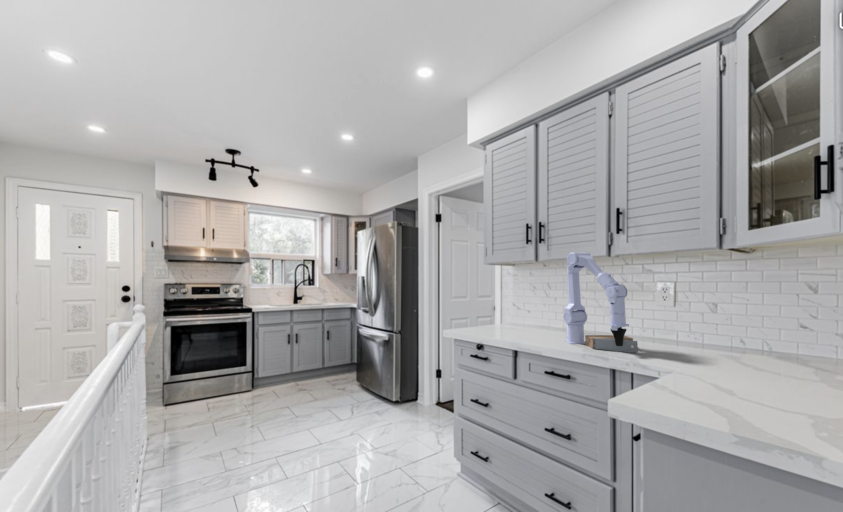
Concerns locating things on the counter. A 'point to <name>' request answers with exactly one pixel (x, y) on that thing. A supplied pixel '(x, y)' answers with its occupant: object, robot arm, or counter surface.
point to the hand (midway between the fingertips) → (619, 345)
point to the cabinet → (590, 338)
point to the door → (611, 345)
